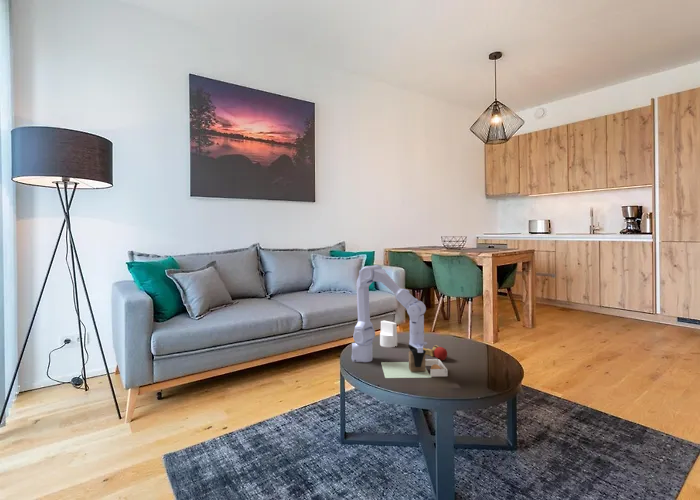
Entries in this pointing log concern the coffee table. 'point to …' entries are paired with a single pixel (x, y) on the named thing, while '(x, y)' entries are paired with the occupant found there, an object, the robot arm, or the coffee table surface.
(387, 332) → the cylinder with rectangular tab
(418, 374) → the pitch
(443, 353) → the kendama
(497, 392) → the coffee table surface
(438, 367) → the ball
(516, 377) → the coffee table surface
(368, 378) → the coffee table surface
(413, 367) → the tall cardboard box
